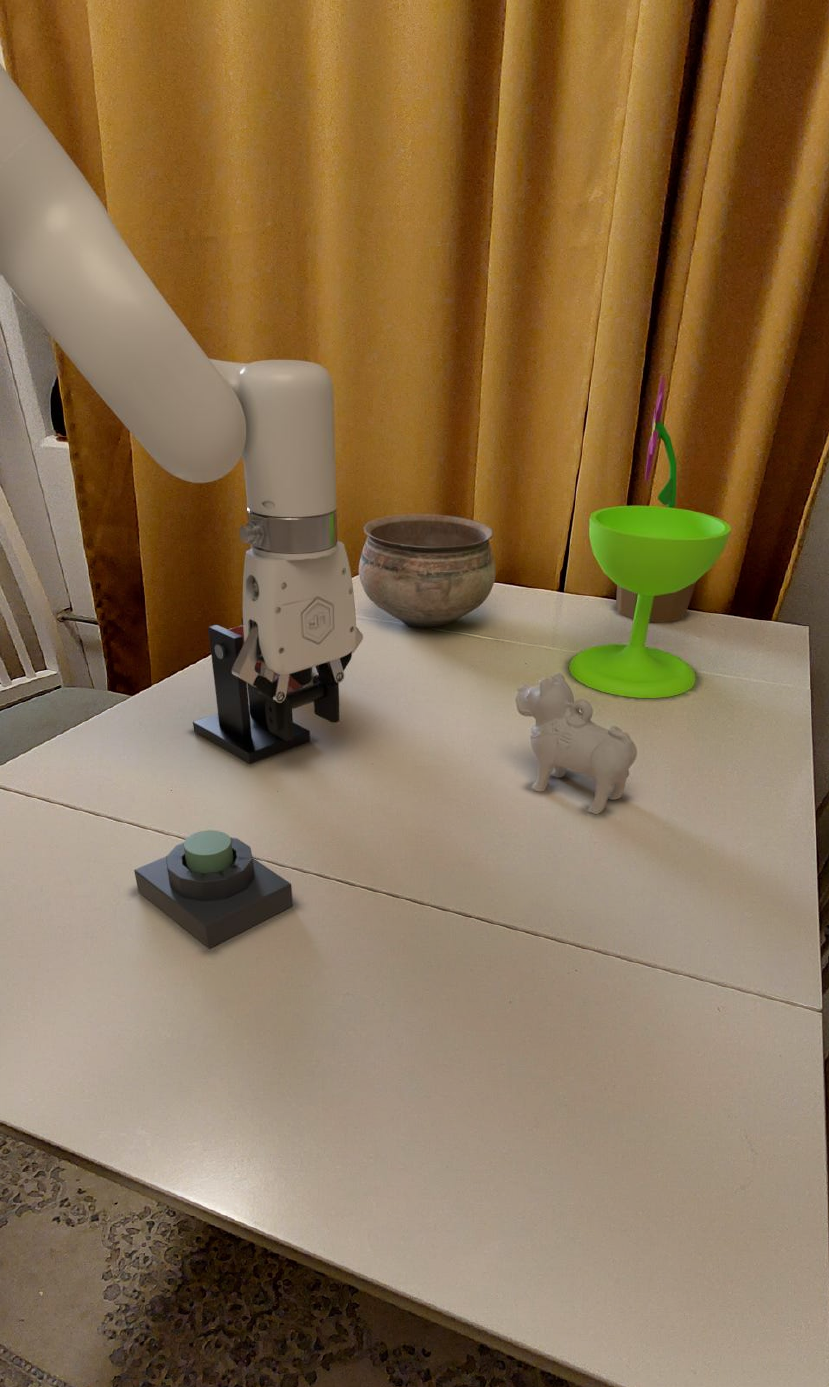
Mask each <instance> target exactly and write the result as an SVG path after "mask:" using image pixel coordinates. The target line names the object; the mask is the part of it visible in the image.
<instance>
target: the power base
mask: <svg viewBox="0 0 829 1387" xmlns="http://www.w3.org/2000/svg"><path fill="white" fill-rule="evenodd" d="M229 837H230V838H231V842H232V851H233V863H232V865H231V866H230V867H228V868H226V869H224V870H221V871H218V872H210V873H200V872H194V871H192V870H190V869H189V868H188V867H187V864H186V858H185V851H184V842H181V843H179V844H176V845H175V846H174V847H173V849H172V850H171V851H170V852H169V853H168V854H167V855H166V856H163V857H161V858H158V859H157V860H154V861H152V862H150V863H146V864H145V865H142V866H140V867H138V868H135V869H134V871H133V872H134V877H135V882H136V886H137V892H138V893H139V894H141V896H143V897H144V898H145V899H146V900H148V901H149V902H150V903H151V904H153V905H154V906H155V907H157V908H158V909H159V910H160V911H162V912H163V913H164V914H165V915H167V916H168V917H169V918H170V919H171V920H173V921H174V922H175V923H176V924H178V925H179V926H180V927H182V928H183V929H184V930H185V931H187V932H188V933H189V934H190V935H192V936H193V937H194V938H195V939H196V940H198V941H199V942H201V944H203V945H204V946H205V947H207V949H212V948H214V947H215V946H217V945H219V944H221V943H223V942H225V941H227V940H229V939H231V938H233V937H235V936H237V935H239V934H241V933H243V932H245V931H247V930H249V929H251V928H252V927H255V926H256V925H259V924H261V923H262V922H264V921H266V920H268V919H271V918H272V917H274V916H275V915H277V914H280V913H282V912H284V911H285V910H287V909H289V908H291V907H293V906H294V904H293V902H294V901H293V890H292V888H293V886H292V883H291V882H289V881H288V880H286V879H285V878H284V877H282V876H280V875H279V874H277V873H276V872H275V871H273V870H271V869H270V868H269V867H267V866H266V865H265V864H263V863H261V862H259V861H258V860H257V859H255V858H254V856H253V852H252V849H251V846H250V845H248V844H246V843H245V842H243V841H242V840H241V839H240V838H237V837H231V836H229Z"/></svg>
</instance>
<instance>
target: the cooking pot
mask: <svg viewBox="0 0 829 1387" xmlns="http://www.w3.org/2000/svg"><path fill="white" fill-rule="evenodd" d="M363 530H364V533H365V534H366V535H367V537H366V540H365V542H364V544H363V548H362V551H361V554H360V560H359V565H358V578H359V582H360V584H361V586H362V589H363V591H364V593H365V595H366V596H367V598H368V599H369V600H370V601H371V602H372V603H373V604H374V605H375V606H376V607H377V608H379V609H381V610H382V611H384V612H385V613H387V614H389V615H390V616H392V617H394V618H396V619H397V620H399V621H401V622H402V623H403V624H405V625H407V626H409V627H413V628H418V629H438V628H442V627H445V626H447V625H448V624H449V623H452V622H454V621H456V620H458V619H460V618H462V617H464V616H466V615H468V614H469V613H471V612H473V611H475V610H476V609H477V608H478V607H480V606H481V605H482V604H483V603H484V602H485V601H486V600H487V598H488V597H489V595H490V594H491V591H492V589H493V587H494V584H495V581H496V575H497V574H496V573H497V571H496V570H497V569H496V564H495V563H496V562H495V557H494V553H493V550H492V546H491V544H490V543H491V542H490V540H491V539H492V538H493V536H494V530H493V529H492V528H491V526H489V525H487V524H485V523H483V522H481V521H478V520H475V519H470V518H466V517H461V516H454V515H447V514H435V513H433V514H432V513H408V514H405V513H404V514H396V515H389V516H382V517H379V518H376V519H375V518H374V519H372V520H371V521H368V522H367V523H366V524H365V525H364V526H363Z"/></svg>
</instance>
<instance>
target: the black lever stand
mask: <svg viewBox="0 0 829 1387" xmlns="http://www.w3.org/2000/svg"><path fill="white" fill-rule="evenodd" d="M241 626H243V617H241ZM207 629H208V637H209V638H208V639H209V647H210V656H211V662H212V663H211V664H212V674H213V681H214V689H215V698H216V707H217V708H216V709H217V713H215V714H212V715H208V716H206V717H203V718H200V719H197V720H194V721H192V726H193V728H192V729H193V732H194V733H195V734H197V735H199V736H200V737H202V738H204V739H206V740H207V741H209V742H211V743H212V744H215V745H216V746H217V747H219V748H221V749H223V750H225V751H226V752H228V753H230V754H232V755H233V756H235V757H237V758H239V759H241V760H242V761H244V762H246V763H247V764H253V763H255V762H259V761H261V760H263V759H266V758H269V757H271V756H274V755H277V754H279V753H282V752H285V751H288V750H290V749H292V748H296V747H298V746H300V745H303V744H305V743H308V742H311V731H310V729H307V728H306V727H303V726H301V725H299V724H297V723H296V722H293V733H294V736H293V738H292V739H291V740H288V741H286V740H284V739H282V738H281V737H279V736H277V735H275V734H273V733H271V732H270V731H269V729H268V726H267V721H266V709H265V697H264V695H262V694H260V693H259V692H258V691H257V690H256V689H255V688H253V687H252V686H251V685H249V684H248V683H247V682H245V681H243V680H241V679H240V678H238V677H236V676H235V675H233V674H232V667H233V665H234V663H235V661H236V659H237V657H238V655H239V653H240V651H241V649H242V647H243V637H242V636H240V635H238V634H236V633H234V632H231V631H229V630H228V629H227V628H225V627H222V626H220V625H218V624H214V625H209V626H208V628H207ZM255 671H256V672H257V673H259V674H260V671H261V669H259V668H258V667H257V666H256V665H255ZM273 684H274V681H273Z"/></svg>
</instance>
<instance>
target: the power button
mask: <svg viewBox="0 0 829 1387" xmlns="http://www.w3.org/2000/svg"><path fill="white" fill-rule="evenodd" d="M230 837H231V836H230V835H228V833H226V832H223V831H221V830H213V829H206V830H201V831H200V830H199V831H197V832H194V833H192V834H190V835H189V836H187V837H186V838H185V840H184V841H183V843H184V851H185V858H186V864H187V867H188V868H189V869H190V870H192V871H194V872H200V873H210V872H218V871H221V870H224V869H226V868H228V867H230V866H231V865H232V863H233V851H232V842H231V838H230Z"/></svg>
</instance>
